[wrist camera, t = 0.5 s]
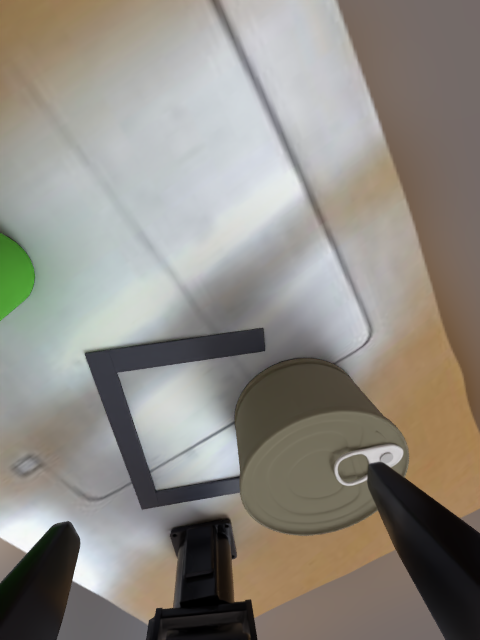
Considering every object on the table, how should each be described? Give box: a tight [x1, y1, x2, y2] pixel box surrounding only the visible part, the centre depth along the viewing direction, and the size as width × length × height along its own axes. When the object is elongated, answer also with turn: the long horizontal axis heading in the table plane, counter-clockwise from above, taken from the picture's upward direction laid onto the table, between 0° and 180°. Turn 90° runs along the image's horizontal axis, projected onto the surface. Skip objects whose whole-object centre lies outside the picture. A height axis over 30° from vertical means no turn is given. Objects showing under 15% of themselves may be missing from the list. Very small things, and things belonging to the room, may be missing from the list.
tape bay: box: [85, 328, 265, 509], centre depth 24 cm, size 18×14×1 cm
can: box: [235, 358, 409, 536], centre depth 22 cm, size 12×12×7 cm
